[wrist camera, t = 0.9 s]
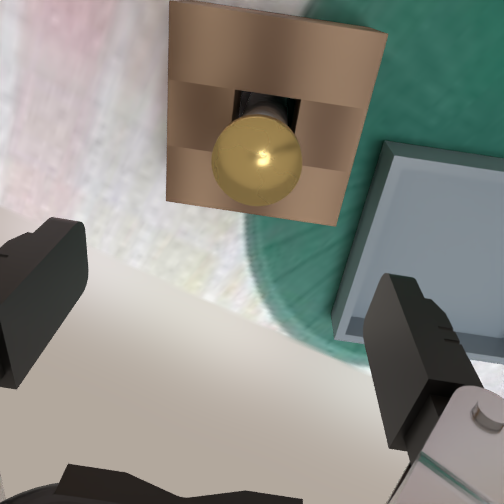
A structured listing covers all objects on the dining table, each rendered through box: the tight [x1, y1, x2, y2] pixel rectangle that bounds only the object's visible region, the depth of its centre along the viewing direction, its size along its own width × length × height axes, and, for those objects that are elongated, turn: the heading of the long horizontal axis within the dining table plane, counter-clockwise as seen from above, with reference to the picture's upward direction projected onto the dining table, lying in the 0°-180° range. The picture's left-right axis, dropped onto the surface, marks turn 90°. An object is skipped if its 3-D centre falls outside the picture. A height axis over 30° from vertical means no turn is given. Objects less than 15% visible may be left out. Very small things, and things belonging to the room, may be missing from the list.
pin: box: [211, 92, 302, 206], centre depth 25 cm, size 4×4×13 cm
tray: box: [331, 141, 504, 364], centre depth 34 cm, size 18×18×4 cm
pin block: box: [166, 0, 388, 226], centre depth 28 cm, size 12×12×6 cm
